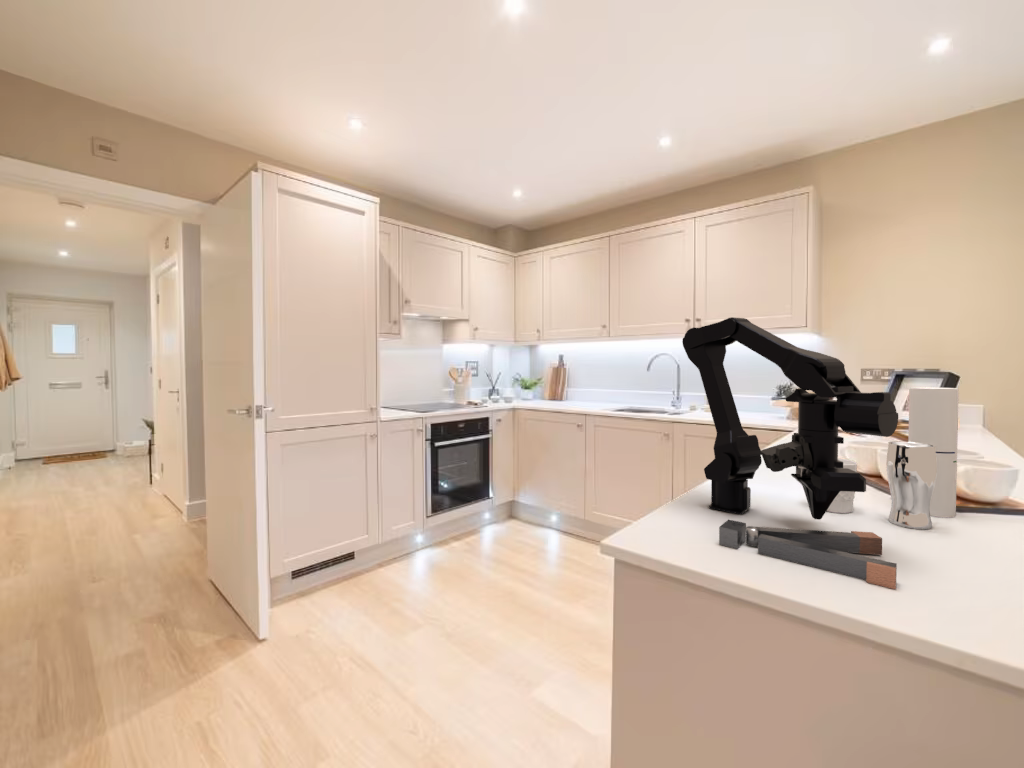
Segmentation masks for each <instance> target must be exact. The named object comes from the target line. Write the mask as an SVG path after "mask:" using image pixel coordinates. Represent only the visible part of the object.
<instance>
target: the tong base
mask: <svg viewBox="0 0 1024 768" xmlns="http://www.w3.org/2000/svg"><path fill="white" fill-rule="evenodd" d="M746 527H747V523H746V522H744V521H743V522H742V521H737V520H732V519H727V520H726V521H725V522H723V523H722V524H721V525H720V526H719V529H718V531H719V532H718V534H719V536H718V537H719V538H718V541H719V542H718V545H719V546H724V547H726V548H731V549H735V550H738V549H739V548H740V547H741V546H742V545H743V544H744V543H746ZM757 554H760V555H763V556H767V557H772V558H776V559H780V560H783V561H788V562H792V563H797V564H800V565H802V566H808V567H812V568H816V569H821V570H824V571H828V572H833V573H836V574H841V575H845V576H849V577H852V578H857V579H862V580H864V581H866V583H868V584H871V585H877V586H881V587H884V588H889V589H892V590H897V567H898V565H897V564H898V563H896V562H891V561H886V560H882V559H878V558H873V557H868V556H864V555H860V554H856V553H846V552H842V551H837V550H832V549H828V548H823V547H819V546H814V545H810V544H805V543H800V542H796V541H791V540H787V539H782V538H777V537H773V536H768V535H764V534H761V535H760V536H759V537H758V546H757Z"/></svg>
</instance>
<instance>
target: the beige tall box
mask: <svg viewBox="0 0 1024 768" xmlns="http://www.w3.org/2000/svg"><path fill="white" fill-rule="evenodd" d="M908 389H909V390H908V392H909V393H908V437H907V438H908V439H907V442H918V443H926V444H932V445H935V446H936V458H937V476H936V481H935V486H934V490H933V493H932V497H931V501H930V517H934V518H942V519H943V518H945V519H948V518H949V519H950V518H955V517H956V516H957V507H956V506H957V479H958V478H957V476H958V473H957V472H958V435H959V434H958V431H959V428H958V427H959V388H958V387H957V388H956V387H926V386H925V387H921V386H920V387H909V388H908Z"/></svg>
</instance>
